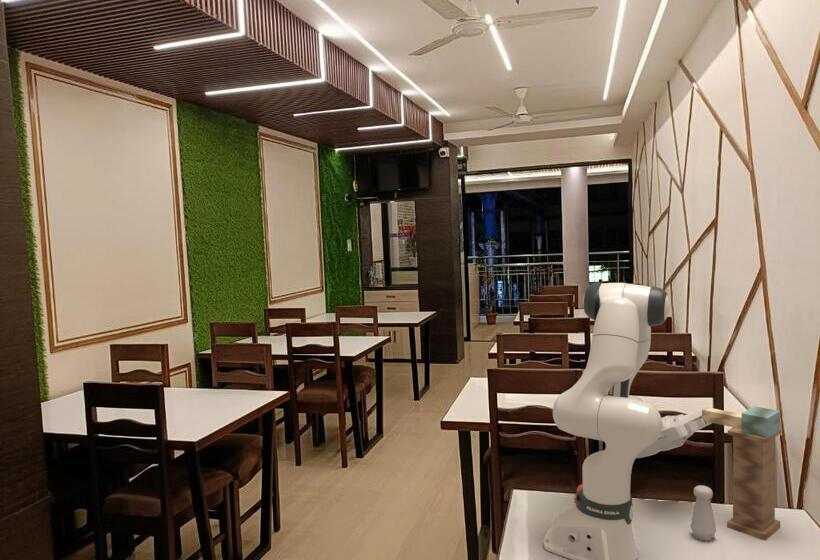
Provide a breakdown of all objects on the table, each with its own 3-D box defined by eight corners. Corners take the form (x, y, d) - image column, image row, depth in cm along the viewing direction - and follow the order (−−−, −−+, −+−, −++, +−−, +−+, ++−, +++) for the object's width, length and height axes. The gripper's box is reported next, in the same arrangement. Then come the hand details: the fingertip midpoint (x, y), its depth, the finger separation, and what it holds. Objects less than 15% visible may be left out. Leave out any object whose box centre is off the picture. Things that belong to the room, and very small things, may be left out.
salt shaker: (719, 543, 144) (719, 493, 143) (694, 542, 146) (694, 492, 145) (711, 531, 150) (711, 483, 149) (688, 530, 151) (687, 482, 150)
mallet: (697, 422, 157) (697, 404, 156) (711, 415, 162) (711, 398, 161) (767, 438, 144) (767, 418, 143) (779, 430, 149) (779, 411, 148)
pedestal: (727, 527, 152) (727, 430, 150) (743, 514, 158) (743, 421, 156) (765, 540, 145) (766, 439, 143) (780, 526, 151) (781, 429, 149)
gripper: (645, 430, 162) (688, 415, 152) (680, 414, 175) (722, 399, 165) (656, 452, 160) (700, 438, 150) (691, 434, 173) (734, 420, 163)
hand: (712, 417), depth 157 cm, fingers open, 8 cm apart
